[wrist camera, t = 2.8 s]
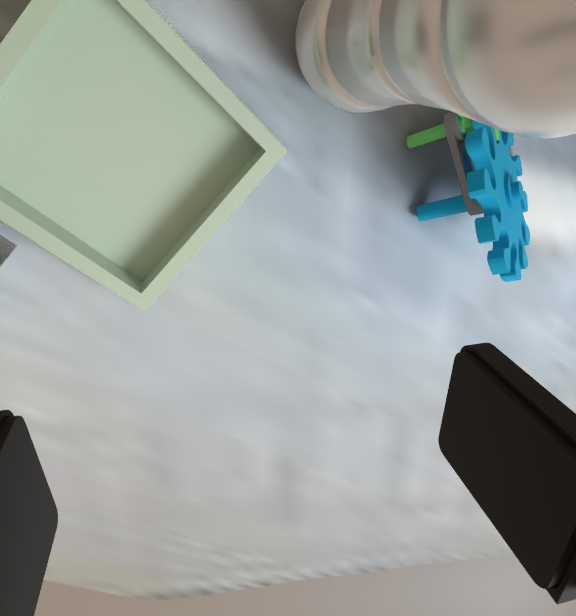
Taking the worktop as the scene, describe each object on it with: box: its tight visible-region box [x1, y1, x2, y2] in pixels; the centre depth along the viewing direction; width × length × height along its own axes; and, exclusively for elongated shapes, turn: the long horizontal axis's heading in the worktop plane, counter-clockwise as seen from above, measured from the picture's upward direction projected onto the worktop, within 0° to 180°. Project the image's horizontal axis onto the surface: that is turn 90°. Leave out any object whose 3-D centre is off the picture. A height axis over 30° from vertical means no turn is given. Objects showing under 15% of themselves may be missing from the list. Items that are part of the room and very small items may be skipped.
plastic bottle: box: [295, 0, 576, 139], centre depth 14 cm, size 6×7×20 cm
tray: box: [0, 0, 288, 312], centre depth 22 cm, size 12×12×2 cm
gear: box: [406, 112, 530, 282], centre depth 26 cm, size 11×6×10 cm
